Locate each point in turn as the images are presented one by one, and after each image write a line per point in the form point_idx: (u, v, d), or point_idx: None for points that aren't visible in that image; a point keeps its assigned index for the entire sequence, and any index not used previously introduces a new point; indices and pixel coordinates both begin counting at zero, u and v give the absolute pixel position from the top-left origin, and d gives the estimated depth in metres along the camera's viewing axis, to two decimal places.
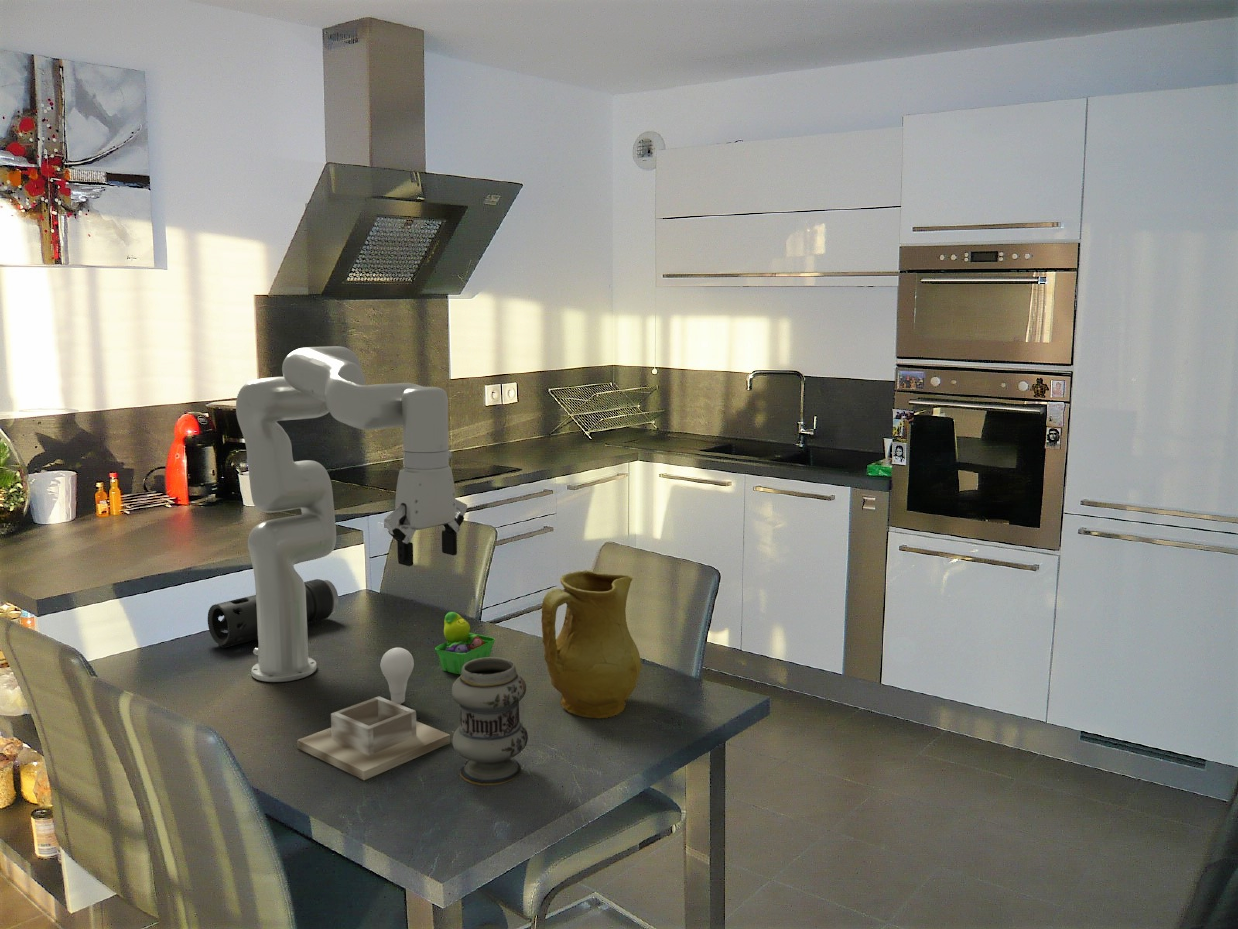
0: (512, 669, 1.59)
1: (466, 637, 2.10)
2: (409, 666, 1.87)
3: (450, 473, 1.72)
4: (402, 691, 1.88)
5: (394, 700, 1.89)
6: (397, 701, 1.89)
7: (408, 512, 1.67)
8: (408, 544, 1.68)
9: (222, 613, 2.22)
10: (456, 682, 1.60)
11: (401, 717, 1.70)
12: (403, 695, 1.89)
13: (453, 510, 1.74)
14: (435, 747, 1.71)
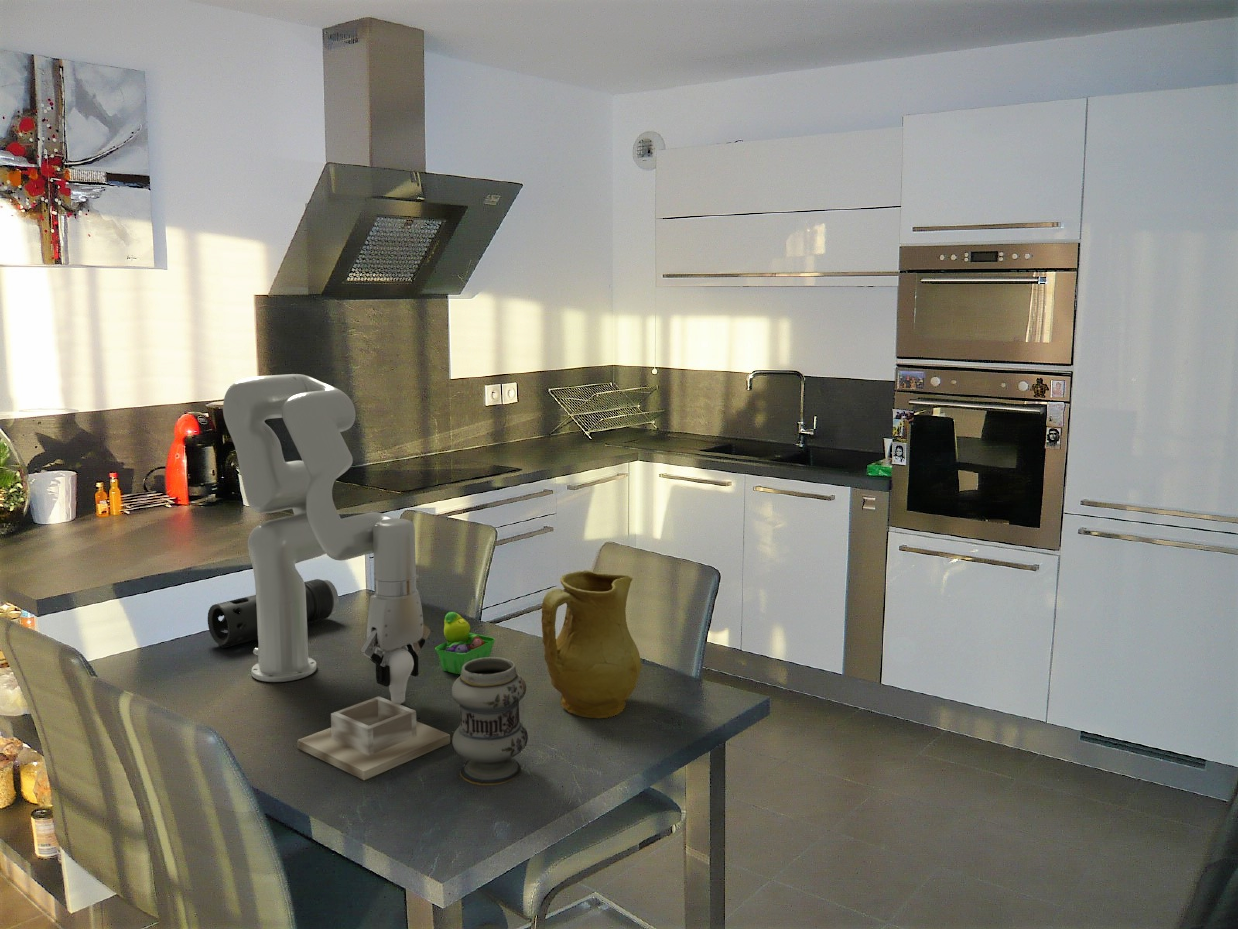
0: (512, 669, 1.59)
1: (466, 637, 2.10)
2: (408, 666, 1.87)
3: (417, 597, 1.88)
4: (402, 691, 1.88)
5: (394, 700, 1.89)
6: (397, 701, 1.89)
7: (378, 636, 1.83)
8: (385, 667, 1.85)
9: (222, 613, 2.22)
10: (456, 682, 1.60)
11: (401, 717, 1.70)
12: (403, 695, 1.89)
13: (420, 629, 1.90)
14: (435, 747, 1.71)
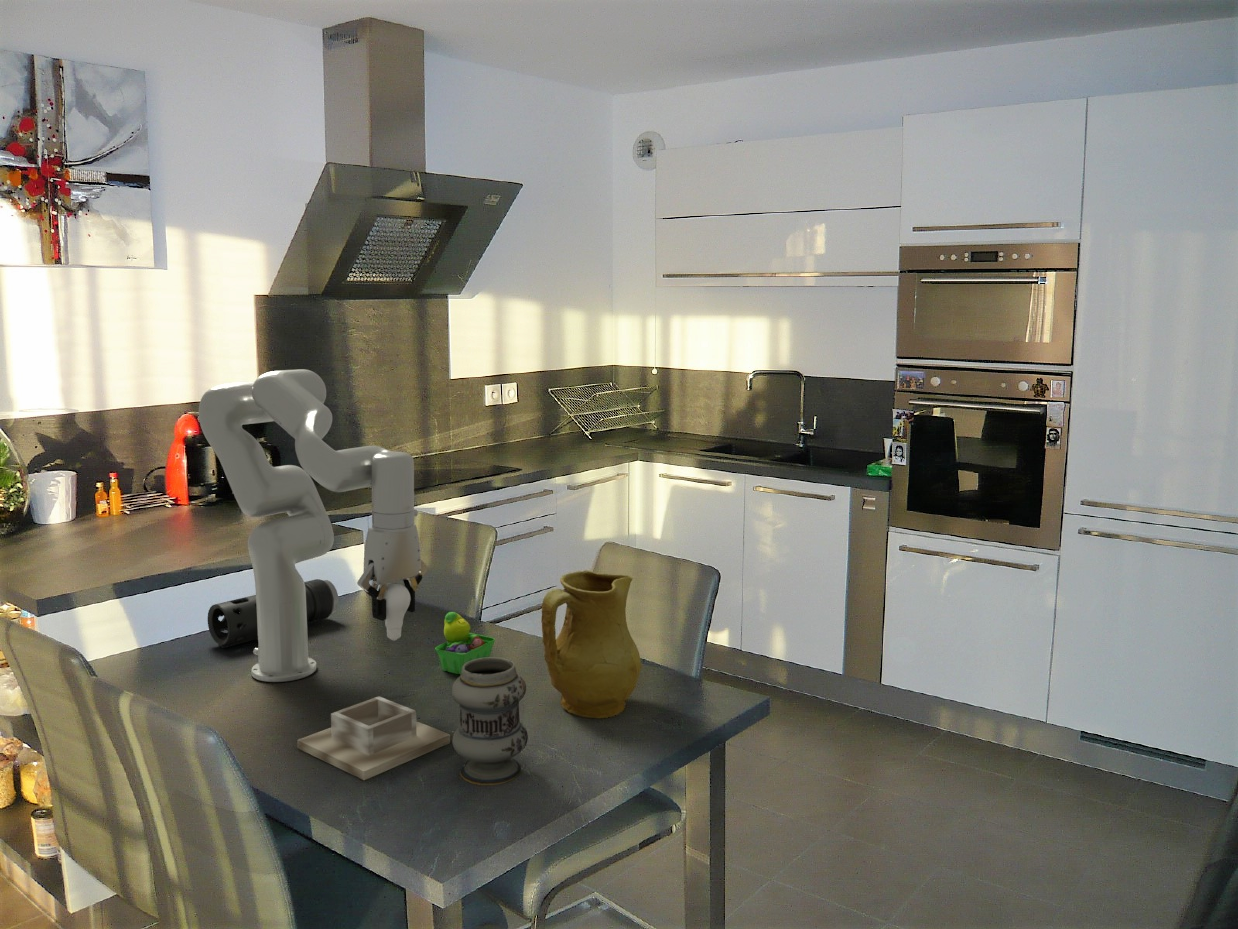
0: (512, 669, 1.59)
1: (466, 637, 2.10)
2: (405, 601, 1.85)
3: (415, 531, 1.86)
4: (398, 626, 1.87)
5: (390, 635, 1.87)
6: (393, 636, 1.87)
7: (375, 568, 1.81)
8: (382, 600, 1.83)
9: (222, 613, 2.22)
10: (456, 682, 1.60)
11: (401, 717, 1.70)
12: (399, 630, 1.87)
13: (418, 565, 1.88)
14: (435, 747, 1.71)
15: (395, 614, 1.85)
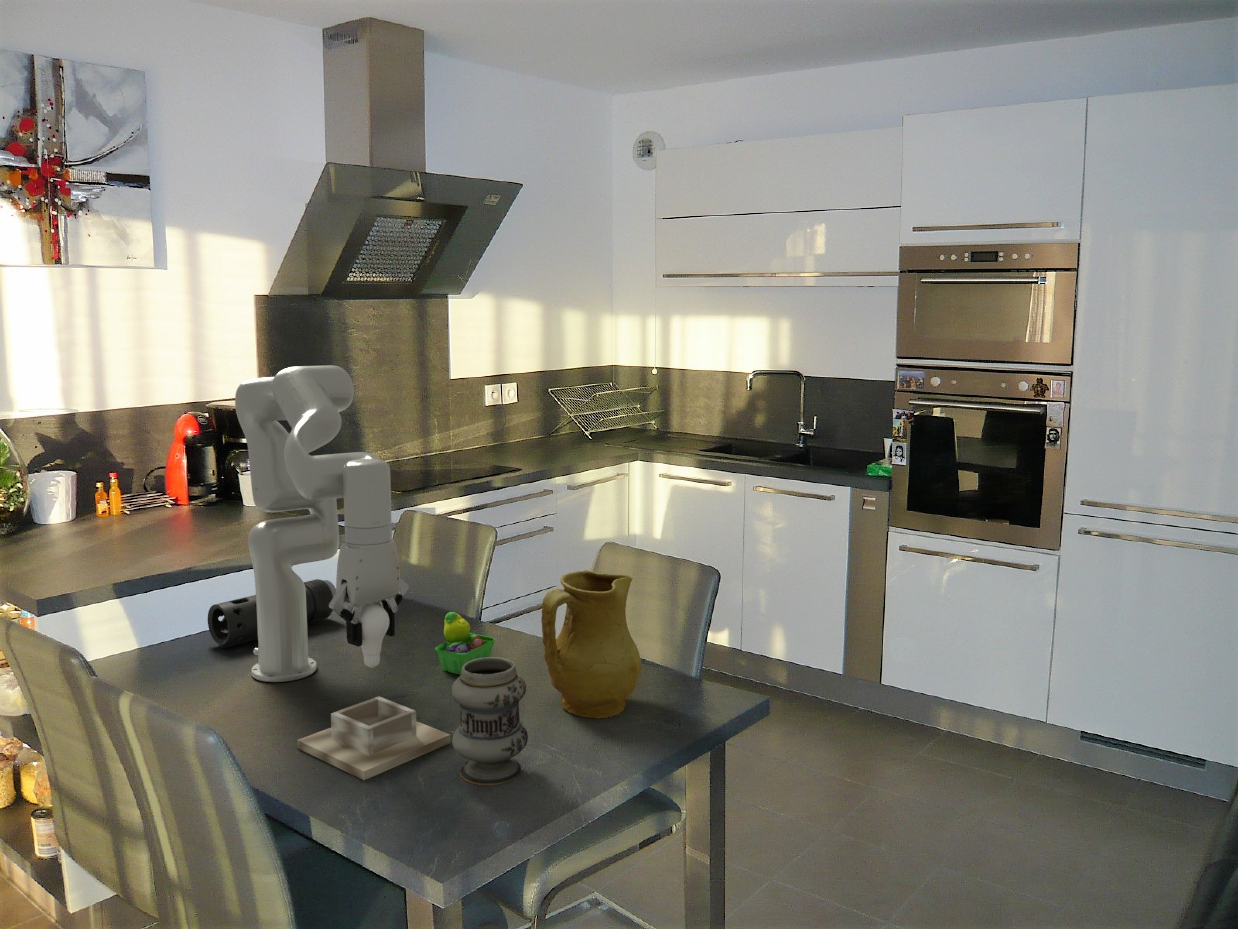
0: (512, 669, 1.59)
1: (466, 637, 2.10)
2: (383, 624, 1.67)
3: (393, 547, 1.68)
4: (376, 652, 1.69)
5: (367, 662, 1.69)
6: (371, 663, 1.69)
7: (349, 589, 1.63)
8: (357, 624, 1.65)
9: (222, 613, 2.22)
10: (456, 682, 1.60)
11: (401, 717, 1.70)
12: (377, 657, 1.69)
13: (397, 584, 1.70)
14: (435, 747, 1.71)
15: (372, 639, 1.67)
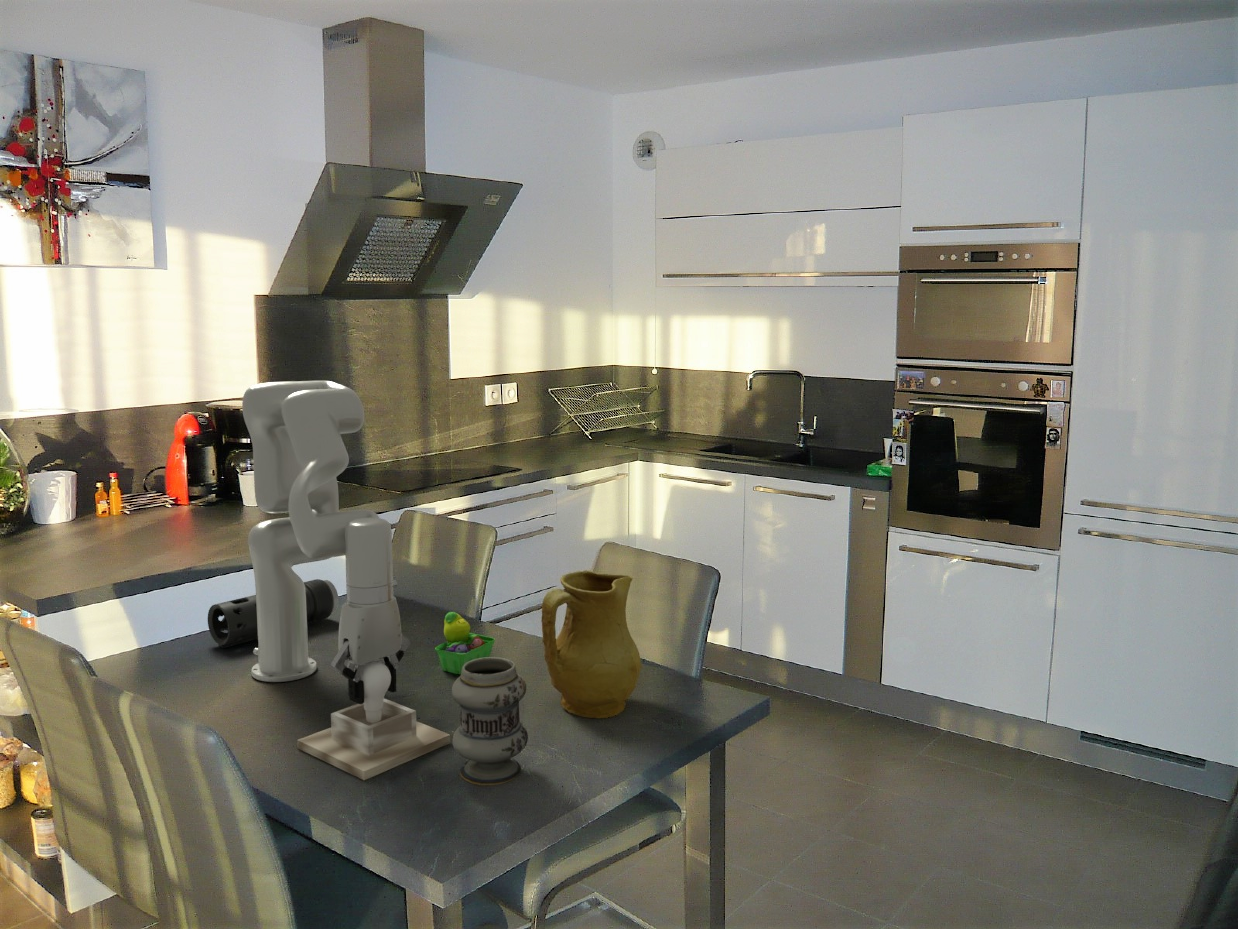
0: (512, 669, 1.59)
1: (466, 637, 2.10)
2: (385, 681, 1.69)
3: (395, 604, 1.70)
4: (378, 709, 1.70)
5: (369, 719, 1.70)
6: (373, 720, 1.70)
7: (351, 648, 1.65)
8: (359, 682, 1.67)
9: (222, 613, 2.22)
10: (456, 682, 1.60)
11: (401, 717, 1.70)
12: (379, 713, 1.71)
13: (398, 640, 1.71)
14: (435, 747, 1.71)
15: (374, 696, 1.69)
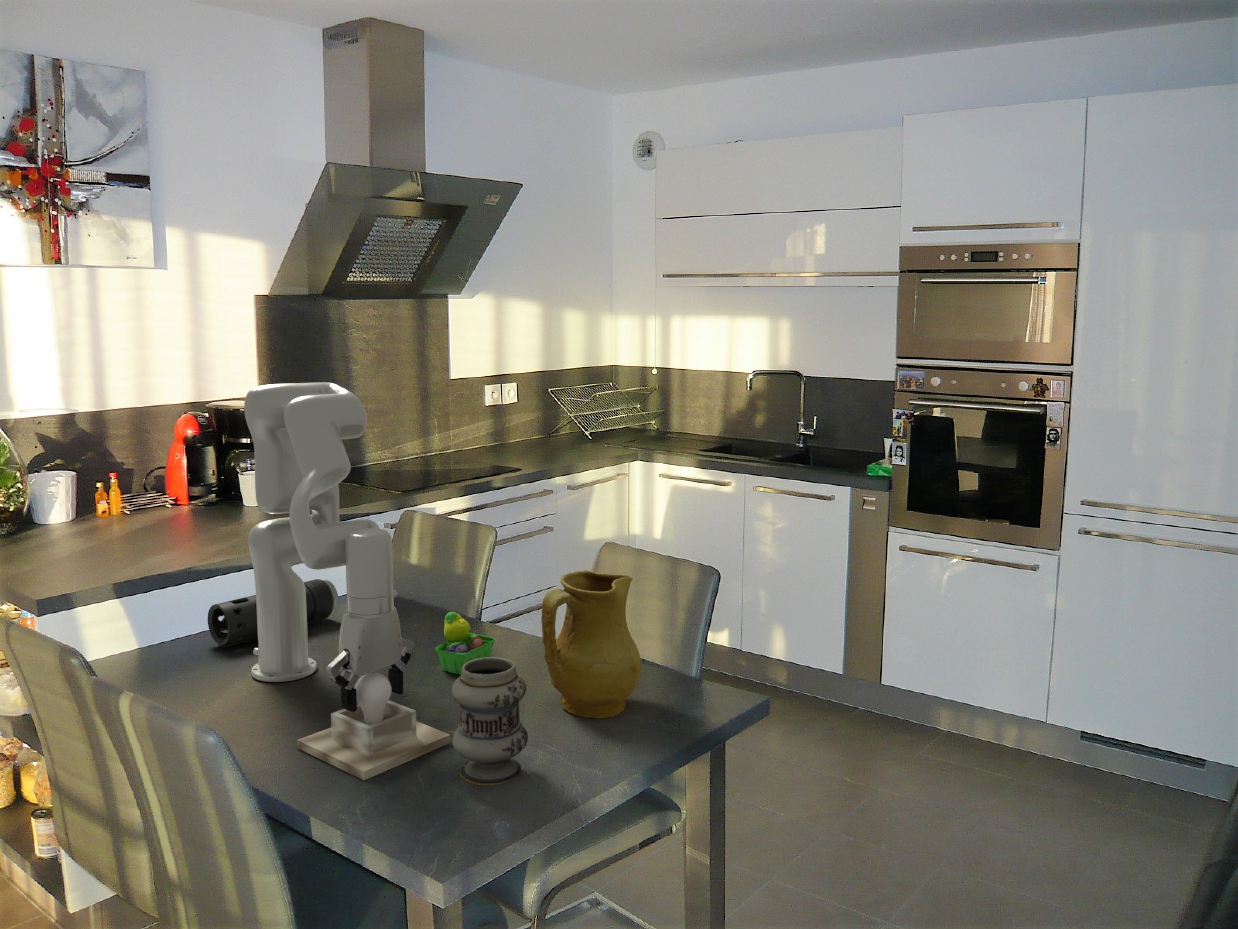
0: (512, 669, 1.59)
1: (466, 637, 2.10)
2: (385, 693, 1.69)
3: (395, 615, 1.70)
4: (378, 720, 1.71)
5: None
6: None
7: (351, 658, 1.65)
8: (351, 690, 1.66)
9: (222, 613, 2.22)
10: (456, 682, 1.60)
11: (401, 717, 1.70)
12: None
13: (399, 651, 1.72)
14: (435, 747, 1.71)
15: (374, 708, 1.69)
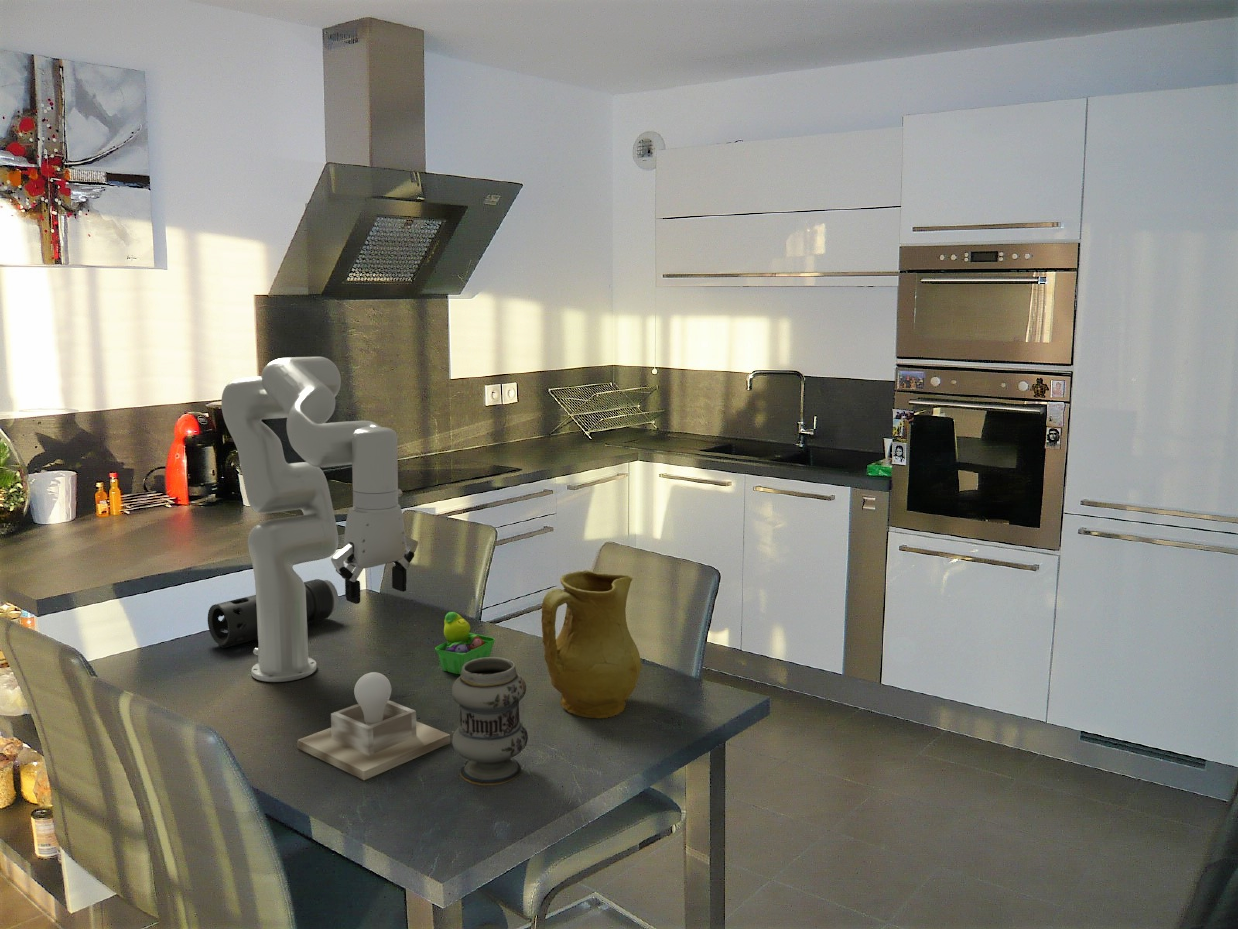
0: (512, 669, 1.59)
1: (466, 637, 2.10)
2: (385, 693, 1.69)
3: (399, 512, 1.75)
4: (378, 720, 1.71)
5: None
6: None
7: (355, 551, 1.70)
8: (355, 582, 1.71)
9: (222, 613, 2.22)
10: (456, 682, 1.60)
11: (401, 717, 1.70)
12: None
13: (402, 548, 1.76)
14: (435, 747, 1.71)
15: (374, 708, 1.69)
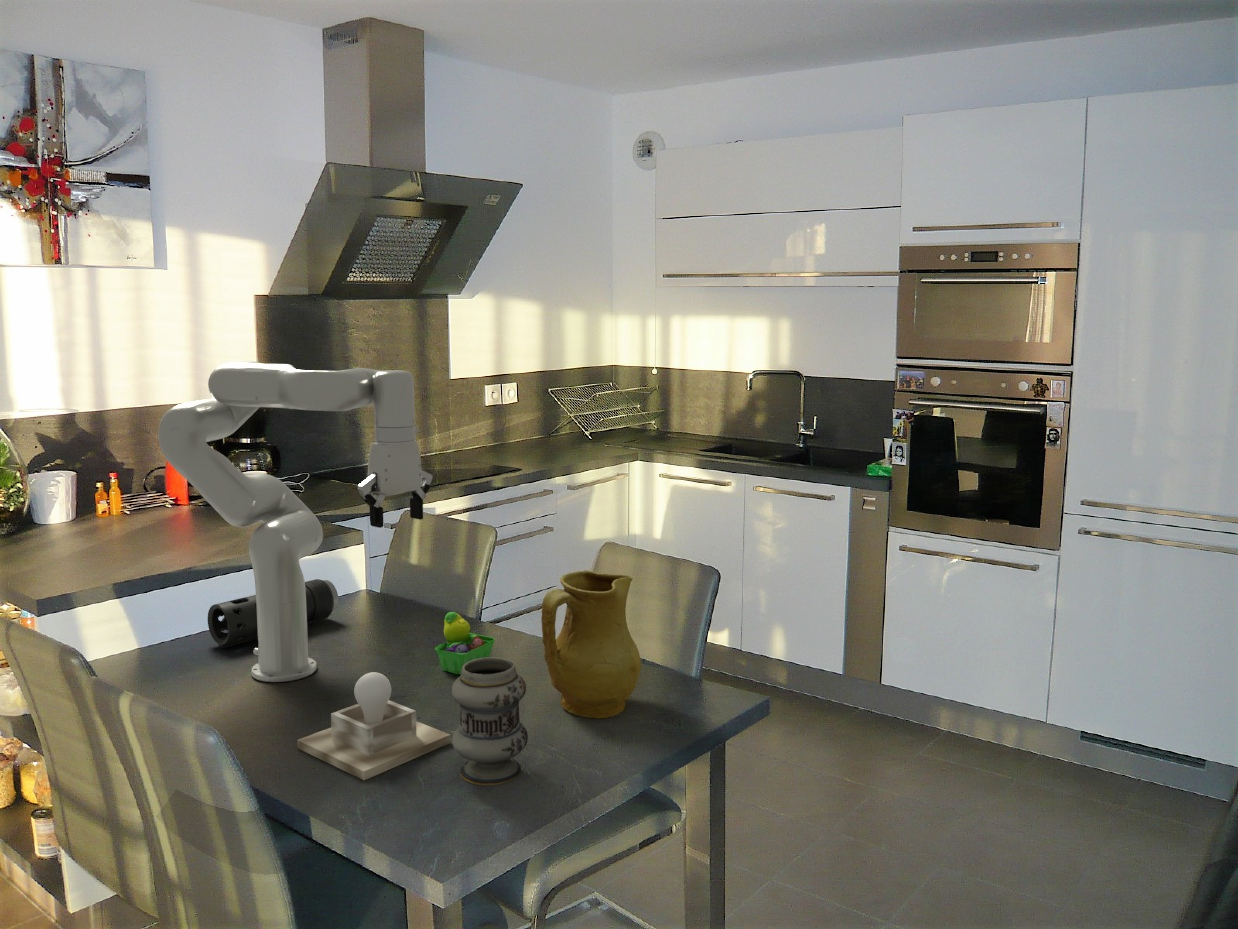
0: (512, 669, 1.59)
1: (466, 637, 2.10)
2: (385, 693, 1.69)
3: (416, 446, 1.96)
4: (378, 720, 1.71)
5: None
6: None
7: (379, 480, 1.91)
8: (379, 508, 1.91)
9: (222, 613, 2.22)
10: (456, 682, 1.60)
11: (401, 717, 1.70)
12: None
13: (419, 479, 1.97)
14: (435, 747, 1.71)
15: (374, 708, 1.69)
